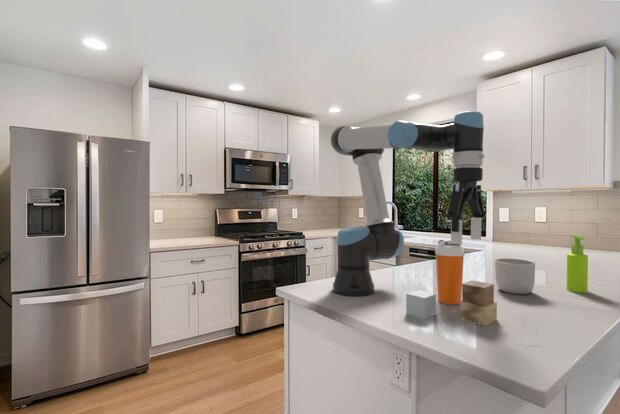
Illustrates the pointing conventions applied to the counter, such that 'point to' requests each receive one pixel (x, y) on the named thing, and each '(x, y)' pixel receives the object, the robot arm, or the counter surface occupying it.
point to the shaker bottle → (449, 271)
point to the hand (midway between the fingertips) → (466, 241)
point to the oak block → (478, 312)
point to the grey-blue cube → (420, 304)
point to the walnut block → (478, 293)
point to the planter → (515, 275)
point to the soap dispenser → (577, 268)
